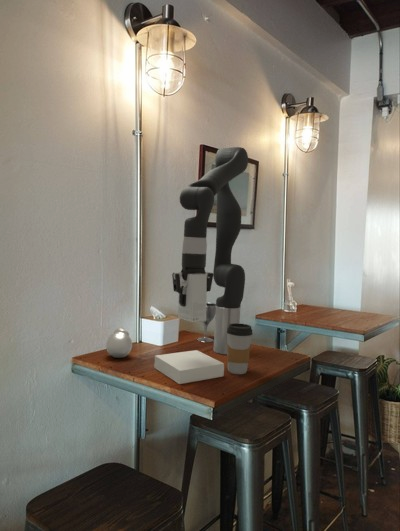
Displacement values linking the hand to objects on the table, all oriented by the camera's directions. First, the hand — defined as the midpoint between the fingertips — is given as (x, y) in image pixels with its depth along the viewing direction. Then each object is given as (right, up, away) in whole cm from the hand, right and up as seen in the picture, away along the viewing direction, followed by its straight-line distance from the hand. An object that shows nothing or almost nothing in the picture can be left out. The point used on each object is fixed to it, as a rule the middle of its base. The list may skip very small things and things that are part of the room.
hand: (191, 305), depth 132 cm
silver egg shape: (-25, -19, +13) cm, 35 cm away
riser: (-1, -21, +2) cm, 21 cm away
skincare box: (0, -5, 0) cm, 5 cm away
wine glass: (+5, -19, +42) cm, 46 cm away
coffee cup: (+15, -22, +5) cm, 27 cm away
